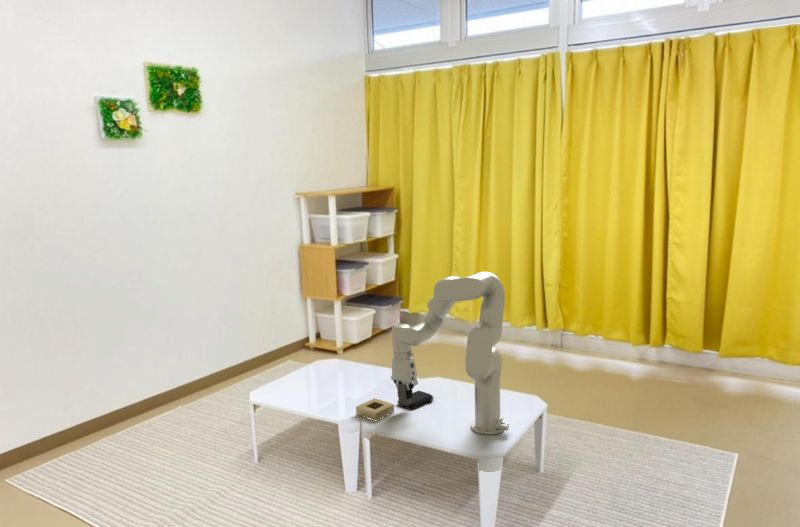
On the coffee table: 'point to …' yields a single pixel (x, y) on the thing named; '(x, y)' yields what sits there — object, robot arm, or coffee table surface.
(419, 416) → the coffee table surface
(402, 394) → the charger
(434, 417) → the coffee table surface
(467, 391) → the coffee table surface
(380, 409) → the socket plate
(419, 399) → the carrying case or bag
